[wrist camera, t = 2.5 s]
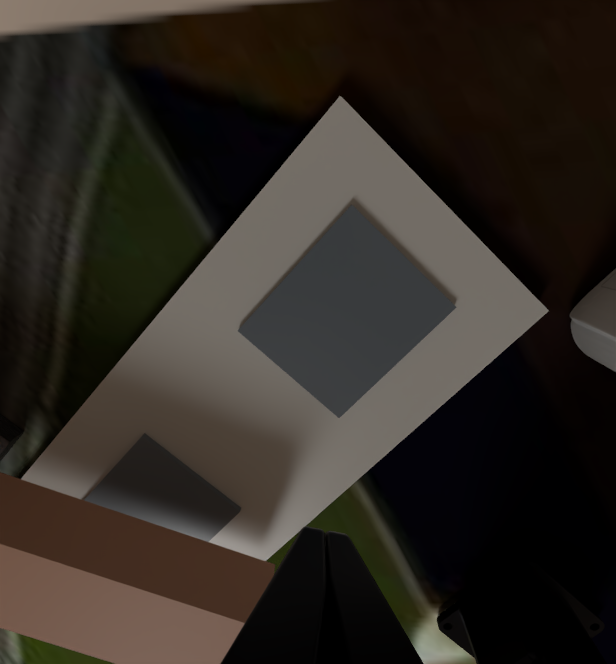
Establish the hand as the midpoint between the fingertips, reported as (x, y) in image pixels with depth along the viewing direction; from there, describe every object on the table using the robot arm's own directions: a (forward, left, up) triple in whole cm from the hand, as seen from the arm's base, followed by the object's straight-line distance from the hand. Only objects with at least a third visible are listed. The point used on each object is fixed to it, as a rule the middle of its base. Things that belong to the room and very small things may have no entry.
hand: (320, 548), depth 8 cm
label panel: (+1, +5, -12) cm, 13 cm away
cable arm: (+3, +13, -8) cm, 16 cm away
